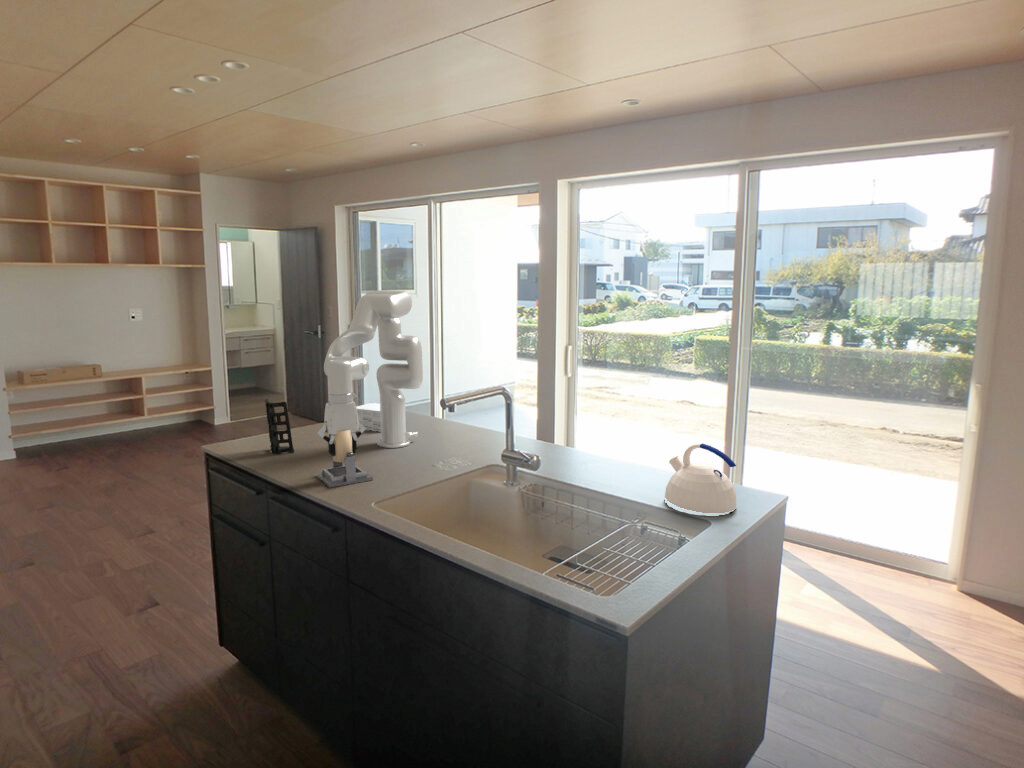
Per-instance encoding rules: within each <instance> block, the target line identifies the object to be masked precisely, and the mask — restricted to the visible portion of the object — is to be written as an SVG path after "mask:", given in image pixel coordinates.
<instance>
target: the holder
mask: <svg viewBox="0 0 1024 768" xmlns="http://www.w3.org/2000/svg"><path fill="white" fill-rule="evenodd" d="M264 403H265V404H264V405H265V409H266V412H265V413H266V420H267V424H268V437H269V443H270V451H271V454H272V453H273V454H274V455H278V453H279V454H282V453H289V452H290V453H293V452H295V449H294V445H293V444H294V443H293V438H292V437H293V436H292V432H291V424H290V416H289V411H288V404H287V402H286V401H281V402H280V401H279V402H270V401H269V399H268V398H266V399H265V400H264ZM277 407H278V408H281V407H282V408H283V411H279V412H276V411H275V408H277ZM282 416H284V418H285V420H284V421H283V420H282V418H281V417H282ZM278 426H285V427H286V429H284V430H278ZM284 434H287V438H286V439H285V438H284ZM281 444H288V446H287V445H286V446H284V445H283V446H282V445H281Z"/></svg>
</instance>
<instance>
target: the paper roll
mask: <svg viewBox="0 0 1024 768" xmlns="http://www.w3.org/2000/svg"><path fill="white" fill-rule="evenodd" d="M333 442H334V444H335V456H333V459H334V461H335V462H342V463H345V456H347V455H346V453H348V452H352V433H351V430H345V431H337V434H336V435H335V438H334V441H333Z"/></svg>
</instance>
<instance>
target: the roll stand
mask: <svg viewBox="0 0 1024 768" xmlns="http://www.w3.org/2000/svg"><path fill="white" fill-rule="evenodd" d="M346 455H347V456H345V462H344V465H343V462H335V461H334V459H333V456H332V455H331V457H332V458H331V459H332V467H329V468H322V469H321V472H315V473H316V475H315V477H317V478H318V479H319V480H320V481H321V480H322V481H323V482H324V483H323V482H322V481H321V482H322V483H323V484H324V485H325V486H327V487H328V489H331V487H332V488H337V487H336V486H338V487H343V486H348V485H347V484H349V485H353V483H355V484H359V483H358V482H360V483H364V482H365V481H366V482H370V480H371V481H373V480H374V479H373V476H371V475H370V474H369V473H368V472H367V471H366V470H363V469H362V468H360V467H359V466H358V465H357V464H356V455H355V454H354V453H353V452H348V453H346ZM342 485H343V486H342Z"/></svg>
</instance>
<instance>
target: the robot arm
mask: <svg viewBox="0 0 1024 768" xmlns="http://www.w3.org/2000/svg"><path fill="white" fill-rule="evenodd" d="M412 307H413V300H412V295H410V293H409V292H408V291H405V290H370V291H367V292H366V293H365V294H364V295H362V296H361V297H360V298H359V300H358V302H357V304H356V308H355V311H354V313H353V317H352V320H351V323H350V326H349V328H348V329H347V330H345V331H344V332H342V333H341V334H340V335H339V336H337V337H336V338H335V339H334V340H333V341H332V343H330V346H329V348H328V350H327V353H326V356H325V359H324V363H323V371H324V374H325V375H326V377H327V395H328V399H327V400H328V402H326V403H325V408H324V417H323V418H324V419H323V422H324V423H323V426H322V427H321V428H320V429H319V430H318V431H317V435H318V436H319V437H320V438H322V439H323V440H324V441H326V442H327V446H328V447H327V448H328V453H329V454H330V456H331V457H332V456H335V444H334V442H333V441H334V438H335V435H336V434H337V431H345V430H351V433H352V452H353V454H356V450H357V449H358V448H357V447H358V446H357V445H358V444H357V441H358V439H359V438H360V437H361V435H362V434H363V433H364V432H365V431H366V430H365V429H366V428H365V427H364V426H363V425H362V424H361V423H360V422H359V421H358V414H357V409H356V407H357V405H356V402H355V401H354V399H355V398H358V393H354V391H353V388H354V387H353V381H358V380H359V381H361V380H362V379H364V378H366V377H367V376H368V374H369V371H370V365H369V362H368V361H367V359H366V358H364V357H361V356H348V355H345V356H344V354H345V353H346V352H347V351H349V350H351V349H353V348H355V347H358V346H360V345H363V344H366V343H368V342H370V341H371V340H373V338H374V337H375V334H376V331H378V336H377V337H378V350H379V356H380V358H382V359H383V360H385V361H386V360H387V361H398V362H399V361H403V362H407V363H396V362H395V363H393V362H392V363H391V362H389V363H388V362H387V363H383V364H381V365H379V366H378V368H377V369H376V380H377V386H378V391H379V393H378V394H379V404H380V416H381V432H380V437H381V439H378V440H377V442H376V443H377V444H376V445H377V446H379V447H381V448H386V449H389V448H390V449H391V448H392V449H393V448H394V449H395V448H402V447H407V446H408V445H410V444H411V438H417V437H418V436H419V433H418V431H415V432H414V431H413V432H412V431H407V426H406V422H407V421H406V419H407V418H406V397H405V395H404V394H403V392H402V391H401V389H404V390H416V389H419V388H420V387H421V386H422V384H423V379H424V376H423V373H424V372H423V350H422V348H423V347H422V344H421V341H420V339H419V338H418V337H417V336H415V335H403V334H402V325H401V320H400V318H401V317H403V316H406V315H408V314H409V313H410V312H411V310H412ZM325 433H327V434H328V436H327V435H326V434H325Z"/></svg>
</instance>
